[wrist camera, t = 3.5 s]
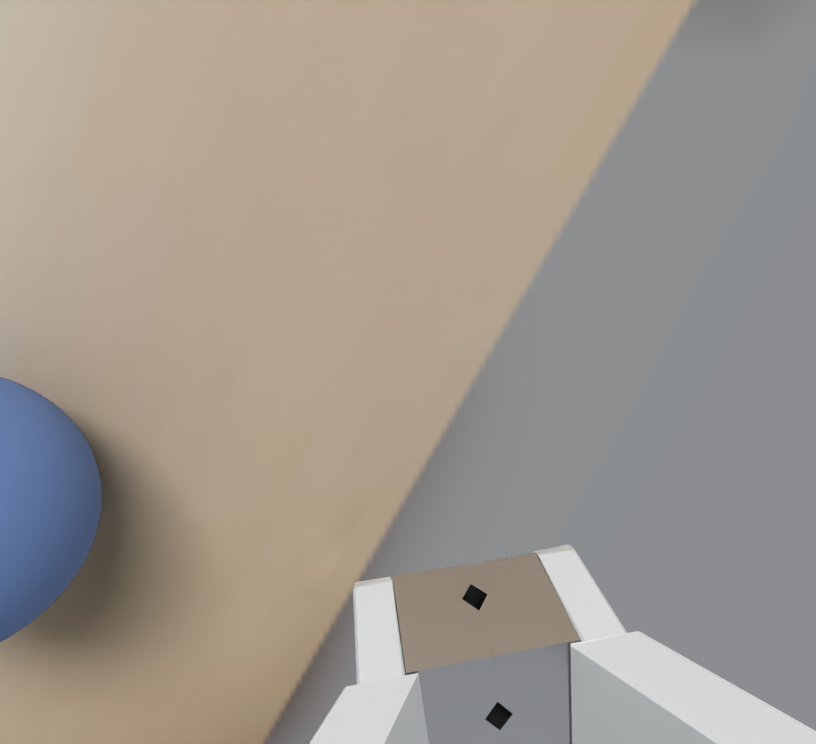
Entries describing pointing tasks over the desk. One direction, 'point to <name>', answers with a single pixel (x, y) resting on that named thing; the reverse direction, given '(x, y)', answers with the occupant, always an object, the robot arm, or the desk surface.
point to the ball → (41, 504)
